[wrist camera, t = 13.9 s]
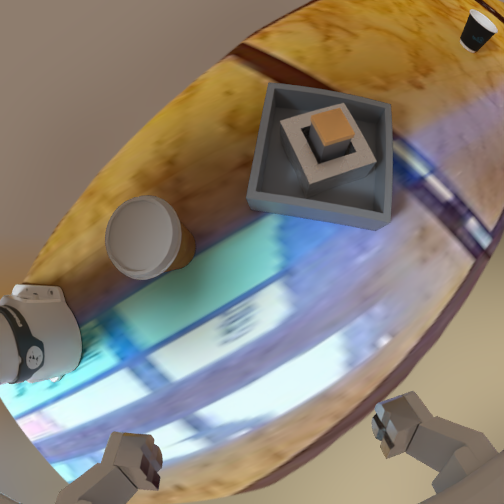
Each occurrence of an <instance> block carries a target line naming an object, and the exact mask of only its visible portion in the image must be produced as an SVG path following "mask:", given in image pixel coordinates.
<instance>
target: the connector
mask: <svg viewBox="0 0 504 504" xmlns="http://www.w3.org/2000/svg"><path fill="white" fill-rule="evenodd" d="M310 120H311V127H310V133H309V139H308V144H309V146H310V148H311V150H312V152H313V154H314V157H315V159H316V161H317V163H318V164H321V163H324V162H327V161H330V160H333V159H336V158H339V157H342V156H344V154H345V152H346V150H347V147H348V145H349V143H350V141H351V139H352V138H353V137H354V135H355V133H354V131H353V129H352V127H351V126H350V124H349V122H348V120H347V119H346V117H345V115H344V114H343V112H342V110H341V109H340V108H337V109H333V110H329V111H326V112H322V113H319V114H315V115H311V119H310Z"/></svg>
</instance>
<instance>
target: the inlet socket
mask: <svg viewBox="0 0 504 504" xmlns="http://www.w3.org/2000/svg"><path fill="white" fill-rule="evenodd" d="M337 108H340V109H341V110H342V112H343V114H344V115H345V117H346V119H347V120H348V122H349V124H350V126H351V127H352V129H353V131H354V133H355V135H354V137H353V138H352V139H351V141H350V143H349V145H348V147H347V150H346V152H345V154H344V156H342V157H339V158H336V159H333V160H330V161H327V162H324V163H321V164H318V163H317V161H316V159H315V157H314V154H313V152H312V150H311V148H310V146H309V144H308V139H309V133H310V127H311V120H310V119H311V115H315V114H319V113H322V112H326V111H329V110H333V109H337ZM280 142H281V144H282V146H283V148H284V150H285V153H286V155H287V157H288V159H289V161H290V164H291V166H292V168H293V170H294V172H295V175H296V177H297V179H298V181H299V184H300V186H301V188H302V191H303V193H304V195H305V198H308V197H311V196H314V195H316V194H319V193H322V192H325V191H328V190H331V189H333V188H336V187H339V186H342V185H345V184H348V183H351V182H354V181H356V180H359V179H362V178H365V177H366V175H367V174H368V173H369V171H370V170H371V169H372V167H373V166H374V165H375V163H376V162H377V161H376V159H375V157H374V155H373V153H372V151H371V149H370V147H369V146H368V144H367V142H366V140H365V138H364V136H363V134H362V133H361V131H360V129H359V127H358V126H357V124H356V122H355V120H354V119H353V117H352V115H351V114H350V112H349V110H348V109H347V107H346V105H345V104H344V103H341V104H337V105H333V106H330V107H326V108H322V109H318V110H315V111H311V112H308V113H304V114H301V115H297V116H294V117H291V118H288V119H284V120H281V121H280Z"/></svg>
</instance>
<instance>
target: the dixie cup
mask: <svg viewBox="0 0 504 504" xmlns="http://www.w3.org/2000/svg"><path fill="white" fill-rule="evenodd" d="M497 32H498V30H497V28H496V26H495V25H494V24H493V23H492V22H491V21H490V20H489V19H488V18H487V17H486V16H485V15H483V14H482V13H480V12H478V11H476V10H473V9H471V10H470V15H469V17H468V20H467V22H466V25H465V27H464V30H463V32H462V35H461V37H460V38H461V39H460V43H461V45H462V46H463V47H464V48H465V49H466V50H468V51H469V52H472V53H475V52H476V51H478V50H479V49H480V48H481V47H482V46H483V45H484V44H485V43H486V42H487V41H488V40H489V39H490V38H491V37H492V36H493V35H494V34H495V33H497Z"/></svg>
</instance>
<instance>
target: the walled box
mask: <svg viewBox="0 0 504 504" xmlns="http://www.w3.org/2000/svg"><path fill="white" fill-rule="evenodd" d="M341 103H344V104H345V105H346V107H347V109H348V110H349V112H350V114H351V115H352V117H353V119H354V120H355V122H356V124H357V126H358V127H359V129H360V131H361V133H362V134H363V136H364V138H365V140H366V142H367V144H368V146H369V147H370V149H371V151H372V153H373V155H374V157H375V159H376V161H377V162H376V163H375V165H374V166H373V167H372V169H371V170H370V171H369V173H368V174H367V175H366V177H365V178H362V179H359V180H356V181H354V182H351V183H348V184H345V185H342V186H339V187H336V188H333V189H331V190H328V191H325V192H322V193H319V194H316V195H314V196H311V197H308V198H305V195H304V193H303V191H302V188H301V186H300V184H299V181H298V179H297V177H296V175H295V172H294V170H293V168H292V166H291V164H290V161H289V159H288V157H287V155H286V153H285V150H284V148H283V146H282V144H281V142H280V121H281V120H284V119H288V118H291V117H294V116H297V115H301V114H304V113H308V112H311V111H315V110H318V109H322V108H326V107H330V106H333V105H337V104H341ZM392 180H393V137H392V114H391V104H388V103H384V102H380V101H376V100H372V99H368V98H364V97H359V96H355V95H350V94H345V93H340V92H335V91H329V90H323V89H317V88H311V87H304V86H296V85H288V84H279V83H268V88H267V93H266V97H265V102H264V107H263V112H262V117H261V122H260V128H259V133H258V138H257V143H256V148H255V153H254V158H253V164H252V169H251V174H250V179H249V185H248V190H247V195H246V199H247V201H248V204H249V206H250V208H251V210H255V211H262V212H268V213H275V214H281V215H288V216H294V217H300V218H306V219H312V220H318V221H324V222H330V223H335V224H341V225H347V226H352V227H357V228H363V229H368V230H373V231H376V230H378V229H380V228H382V227H384V226H385V225H387V224H389V223H390V220H391V204H392Z"/></svg>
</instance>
